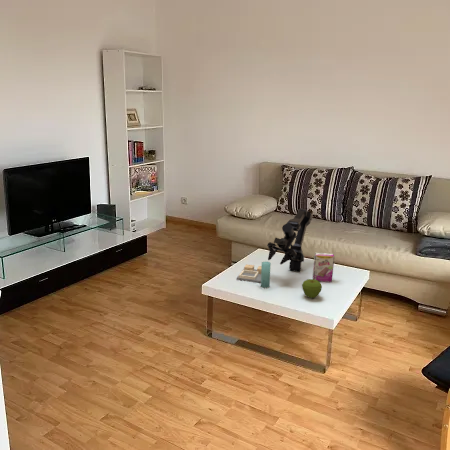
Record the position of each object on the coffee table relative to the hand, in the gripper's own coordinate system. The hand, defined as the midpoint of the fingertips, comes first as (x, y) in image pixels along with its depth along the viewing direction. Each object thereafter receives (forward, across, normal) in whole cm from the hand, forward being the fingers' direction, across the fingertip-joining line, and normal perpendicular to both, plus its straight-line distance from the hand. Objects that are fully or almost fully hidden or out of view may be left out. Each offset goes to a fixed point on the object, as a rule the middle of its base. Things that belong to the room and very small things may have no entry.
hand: (274, 262), depth 278 cm
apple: (+8, +26, +10) cm, 30 cm away
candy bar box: (-9, +16, +27) cm, 33 cm away
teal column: (+14, 0, +4) cm, 15 cm away
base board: (+10, -15, +8) cm, 20 cm away
